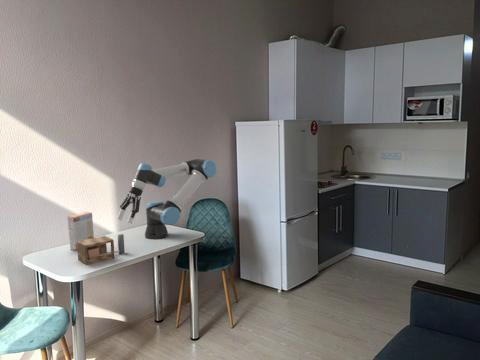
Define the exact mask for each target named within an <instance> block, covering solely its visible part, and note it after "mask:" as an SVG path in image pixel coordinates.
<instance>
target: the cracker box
mask: <svg viewBox="0 0 480 360" xmlns="http://www.w3.org/2000/svg"><path fill="white" fill-rule="evenodd" d="M93 220H94V219H93V212H91V211H84V212H80V213H77V214H72V215H68V216H67V227H68V238H69V247H70V249H69V250H71V251H77V252H78V250H77V241H82V240H87V239H92V238H95V233H94V231H95V230H94V223H93V222H94V221H93Z"/></svg>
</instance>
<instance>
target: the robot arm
mask: <svg viewBox="0 0 480 360" xmlns="http://www.w3.org/2000/svg"><path fill="white" fill-rule="evenodd" d="M152 168H153V167H152V166H151V165H150V164H148V163H145V162H141V163H139V165H138V167H137V170H136V173H135V176H134V178H133V180H132V182H131V186H130V189H129V190H128V192H129V193H130V194H129V193H127V194H126V196H125V198H124V199H123V201H122V202H121V204H120V205H119V208H120V210H119V213H118V215H117V218H116V219H117V220H118V221H122V220H123V218H124V215H125V212H126V209H127V208H128V207H129V206H130V205H131V208H132V209H131V210H130V213H129V216H128V218H127V221H126V223H129V224H130V225H131V224H132V223H133V221H134V219H135V216H136V214H137V213H139V211H140V204H141V199H142V197H141V196H142V194H143V192H144V191H143V190H144V189H145V186H146V185H152V186H155V187H158V188H162V187H164V185H166V181H167V180H166V179H170V178H174V177H179V176H180V177H181V176H186V177H187V176H189V178H188V179H186V181H185V182H184V183H183V185H181V187H180V188H179V189H178V191H177V192H175V194H174V195H173V196H172V197H171V199H168V200H166V201H165V203H164V201H153V202H147V204H146V205H145V206H146V207H145V210H146V213H145V215H146V228H145V231H144V238H145V239H150V240H157V239H163V238H166V236H167V237H168V236H169V232H168V229H167V226H166V225H168V226H173V225H175V224H176V223H178V221H179V220H180V218H181V212H182V208H183V206H185V204H186V203H187V202H188V200H189V199H190V198H191V197H192V195H194V193H195V192H196V190H197V189H199V187H200V185H201V184H202V183H205V182H206V181H207V180H208V179H209V178H213V177H215V175H216V173H217V165H216V162H214V161H213V160H211V159H204V158H203V159H200V158H196V159H190V160H186V161H183V162H181V163H180V164H176V165H175V164H174V165H170V166H166V167H165V166H164V167H161V168H155V169H152Z"/></svg>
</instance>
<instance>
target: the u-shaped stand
mask: <svg viewBox="0 0 480 360" xmlns="http://www.w3.org/2000/svg"><path fill="white" fill-rule="evenodd" d="M117 247H118V249H117V250H114V254H116V253H118V255H124V254H125V235H124V233H119V234H117ZM87 254H88V259H91V258H96V257H100V256H104V255H109V254H111V251H107V253H102V254H99V248H98V247H96V246H91V247H87Z"/></svg>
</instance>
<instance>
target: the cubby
mask: <svg viewBox="0 0 480 360" xmlns="http://www.w3.org/2000/svg"><path fill="white" fill-rule="evenodd" d="M114 243H115V241H114V239H113V238H110V237H108V236H106V235H103V236H97V237H94V238H92V239H87V240H82V241H77V259H78V261H79V262H81V263H82V264H84V265H85V266H87V265H91V264H96V263H100V262H103V261H108V260H112V259H115V253H114V251H115V244H114ZM107 244H110V252H111V254H108V255H104V256H99V257H96V258H91V259H88V254H87V247H91V246H96V247H98V248H99V254H102V253H107V252H108V251H107Z"/></svg>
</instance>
